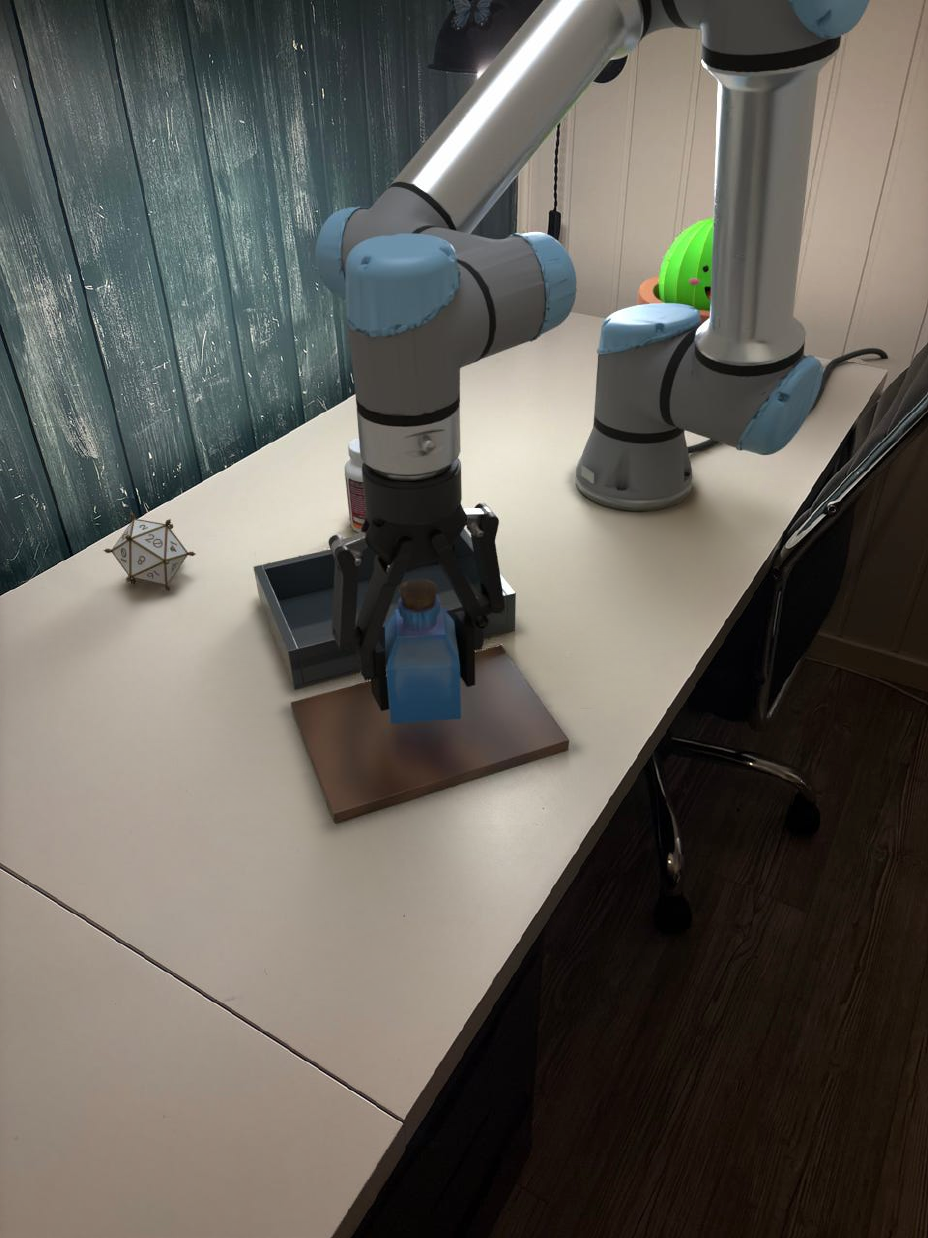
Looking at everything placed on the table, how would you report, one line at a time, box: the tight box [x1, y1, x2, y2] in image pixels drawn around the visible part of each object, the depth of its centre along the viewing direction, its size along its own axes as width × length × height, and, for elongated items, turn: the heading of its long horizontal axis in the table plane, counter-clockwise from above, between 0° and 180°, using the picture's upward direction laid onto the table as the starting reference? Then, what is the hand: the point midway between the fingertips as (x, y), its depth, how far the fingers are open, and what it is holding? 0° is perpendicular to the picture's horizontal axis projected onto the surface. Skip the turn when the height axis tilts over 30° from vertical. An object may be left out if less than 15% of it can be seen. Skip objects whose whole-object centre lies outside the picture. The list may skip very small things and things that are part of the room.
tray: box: [253, 528, 517, 690], centre depth 99 cm, size 24×16×5 cm, turn 112°
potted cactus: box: [636, 218, 713, 326], centre depth 145 cm, size 22×22×25 cm
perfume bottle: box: [385, 579, 461, 724], centre depth 80 cm, size 6×6×12 cm
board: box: [290, 644, 570, 824], centre depth 85 cm, size 22×15×1 cm
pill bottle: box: [344, 437, 366, 533], centre depth 112 cm, size 6×6×11 cm
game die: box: [102, 511, 197, 593], centre depth 104 cm, size 9×8×10 cm
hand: (423, 688), depth 82 cm, fingers closed on perfume bottle, 7 cm apart
